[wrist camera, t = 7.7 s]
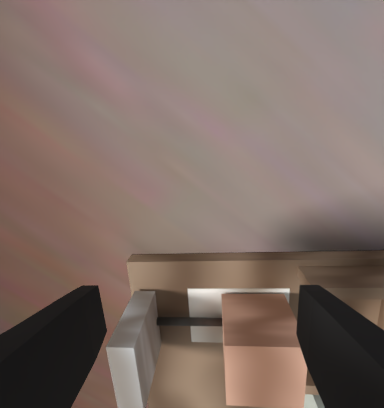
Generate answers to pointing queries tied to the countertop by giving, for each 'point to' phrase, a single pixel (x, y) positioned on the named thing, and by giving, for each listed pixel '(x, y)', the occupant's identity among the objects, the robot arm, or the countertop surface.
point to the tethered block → (232, 346)
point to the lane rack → (238, 284)
